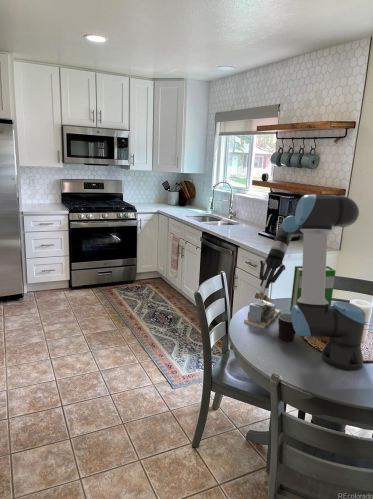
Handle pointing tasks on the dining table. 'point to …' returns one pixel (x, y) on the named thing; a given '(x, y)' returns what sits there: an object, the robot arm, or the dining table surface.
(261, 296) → the tan flat bar
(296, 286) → the hardback book
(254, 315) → the heat-sink block
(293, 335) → the coffee mug
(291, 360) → the dining table surface
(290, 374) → the dining table surface
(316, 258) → the robot arm
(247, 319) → the birch board
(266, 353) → the dining table surface
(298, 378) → the dining table surface
